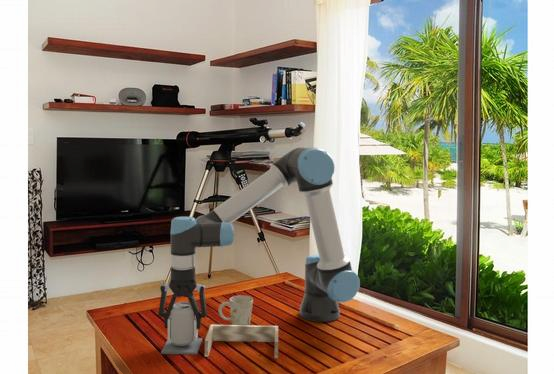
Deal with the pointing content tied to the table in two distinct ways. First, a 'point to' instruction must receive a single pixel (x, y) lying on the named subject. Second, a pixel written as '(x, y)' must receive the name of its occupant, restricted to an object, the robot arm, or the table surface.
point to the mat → (182, 347)
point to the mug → (238, 310)
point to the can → (182, 324)
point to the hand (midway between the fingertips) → (182, 338)
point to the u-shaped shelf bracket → (241, 335)
